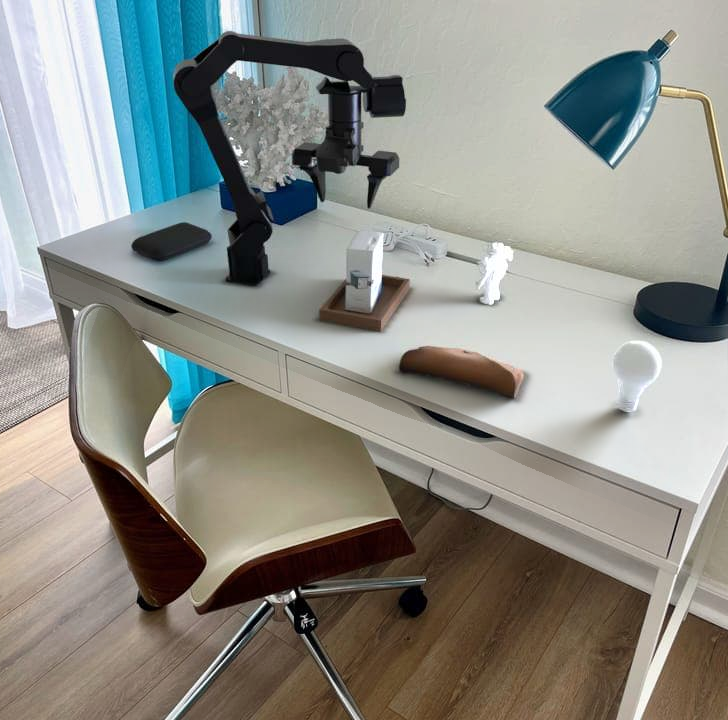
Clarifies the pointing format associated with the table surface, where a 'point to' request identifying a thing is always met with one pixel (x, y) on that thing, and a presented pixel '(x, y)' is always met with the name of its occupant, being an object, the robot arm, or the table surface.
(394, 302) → the desk tray
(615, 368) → the lightbulb
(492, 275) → the flower shoulder figurine
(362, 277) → the ink box
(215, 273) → the table surface
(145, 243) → the carrying case
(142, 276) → the table surface
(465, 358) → the sunglasses case
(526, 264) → the table surface
